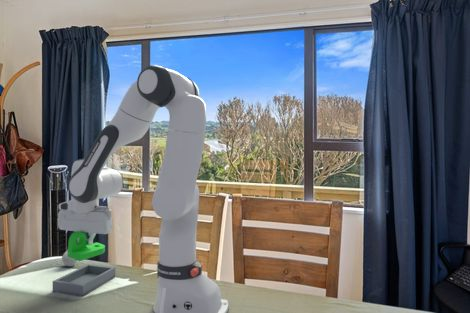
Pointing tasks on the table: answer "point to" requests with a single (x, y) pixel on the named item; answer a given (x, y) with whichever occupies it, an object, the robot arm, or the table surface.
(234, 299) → the table surface
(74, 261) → the white sculpted head
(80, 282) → the tray
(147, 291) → the table surface
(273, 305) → the table surface
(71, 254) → the mechanical part
